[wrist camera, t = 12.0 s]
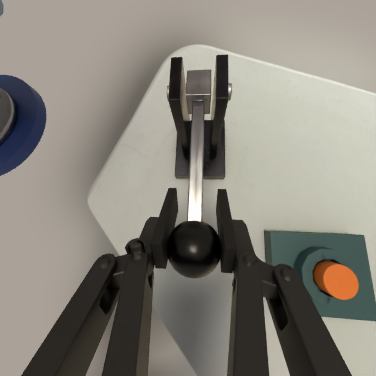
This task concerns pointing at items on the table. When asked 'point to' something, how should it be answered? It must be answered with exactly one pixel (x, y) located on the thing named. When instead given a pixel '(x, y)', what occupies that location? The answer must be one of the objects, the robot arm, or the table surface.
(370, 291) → the button block
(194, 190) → the lever
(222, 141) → the bracket
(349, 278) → the button
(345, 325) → the table surface
